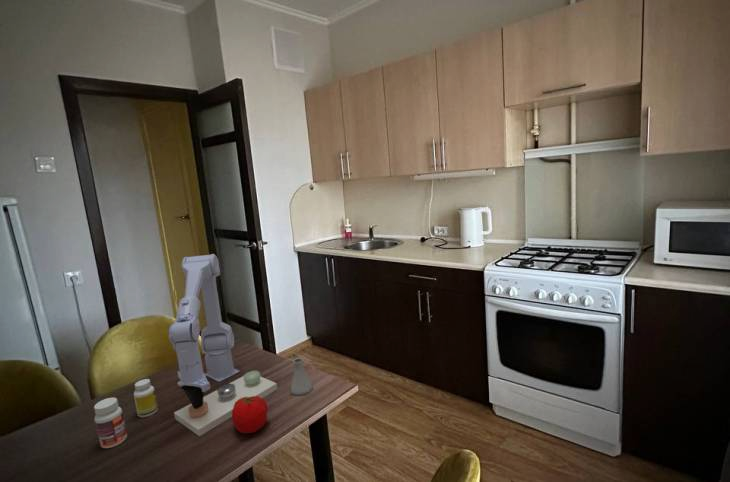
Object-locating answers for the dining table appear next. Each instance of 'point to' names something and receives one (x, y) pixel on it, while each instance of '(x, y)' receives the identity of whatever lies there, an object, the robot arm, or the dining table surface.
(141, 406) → the supplement bottle
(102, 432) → the pill bottle
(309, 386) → the flask
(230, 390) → the grey button
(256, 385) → the control panel
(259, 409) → the tomato
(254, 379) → the sage button
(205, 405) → the terracotta button
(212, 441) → the dining table surface
